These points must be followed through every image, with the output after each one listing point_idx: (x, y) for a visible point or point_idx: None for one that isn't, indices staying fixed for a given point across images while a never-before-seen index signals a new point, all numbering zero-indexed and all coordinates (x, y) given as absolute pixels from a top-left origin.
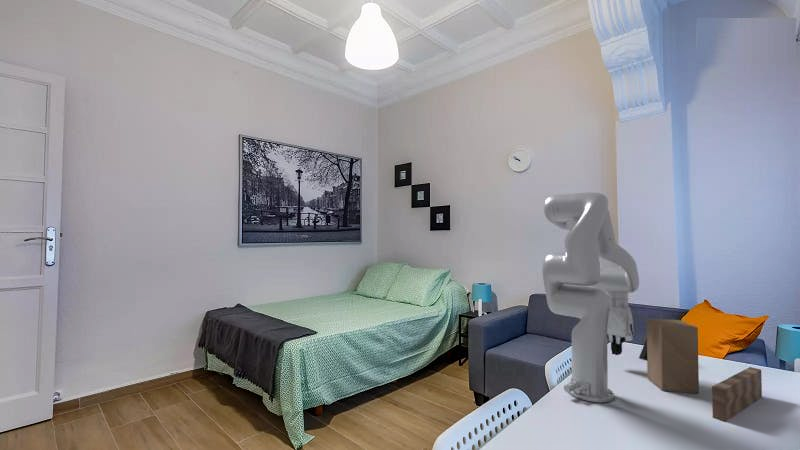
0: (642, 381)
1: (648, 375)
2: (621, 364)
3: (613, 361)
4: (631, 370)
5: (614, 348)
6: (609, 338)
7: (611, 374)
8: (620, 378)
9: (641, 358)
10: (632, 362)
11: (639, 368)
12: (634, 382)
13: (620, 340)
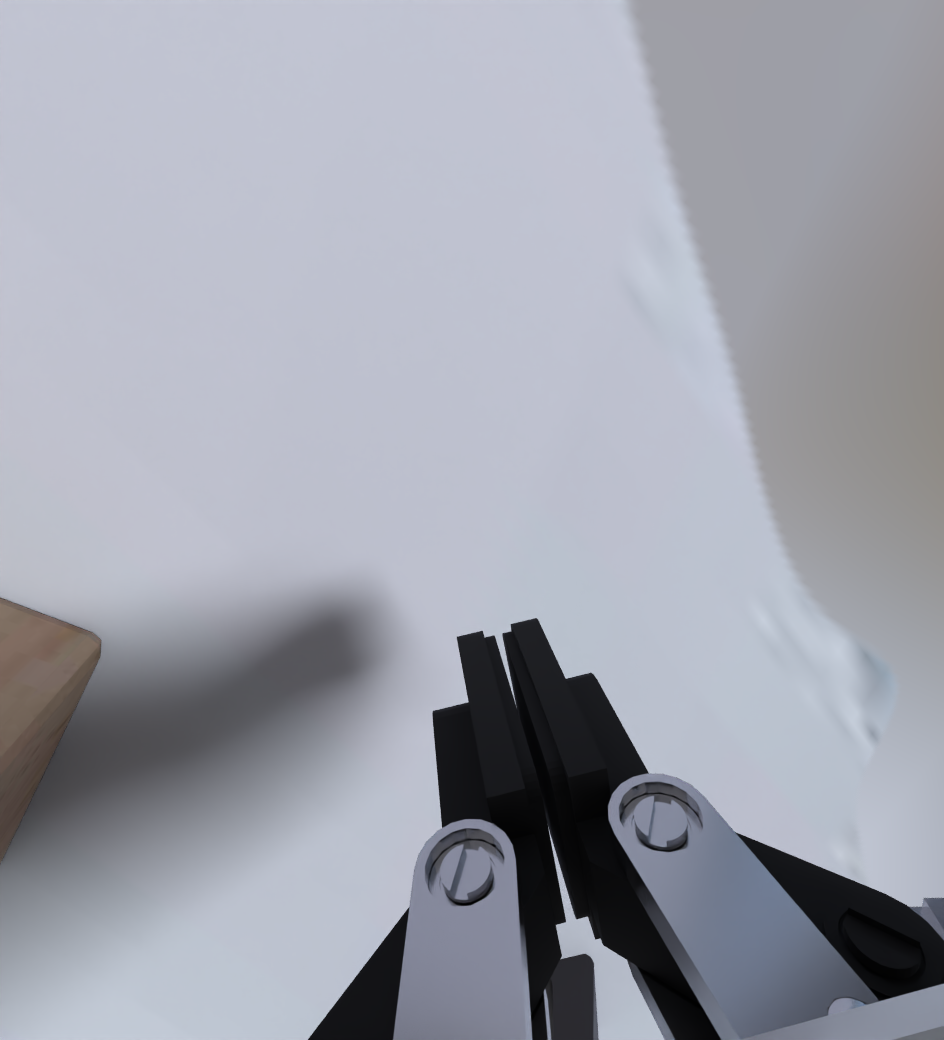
0: (31, 510)
1: (33, 645)
2: None
3: (641, 710)
4: (375, 676)
5: (514, 701)
6: (733, 858)
7: (334, 330)
8: (174, 317)
9: (572, 963)
10: None
11: (396, 788)
12: (4, 376)
13: (415, 985)
